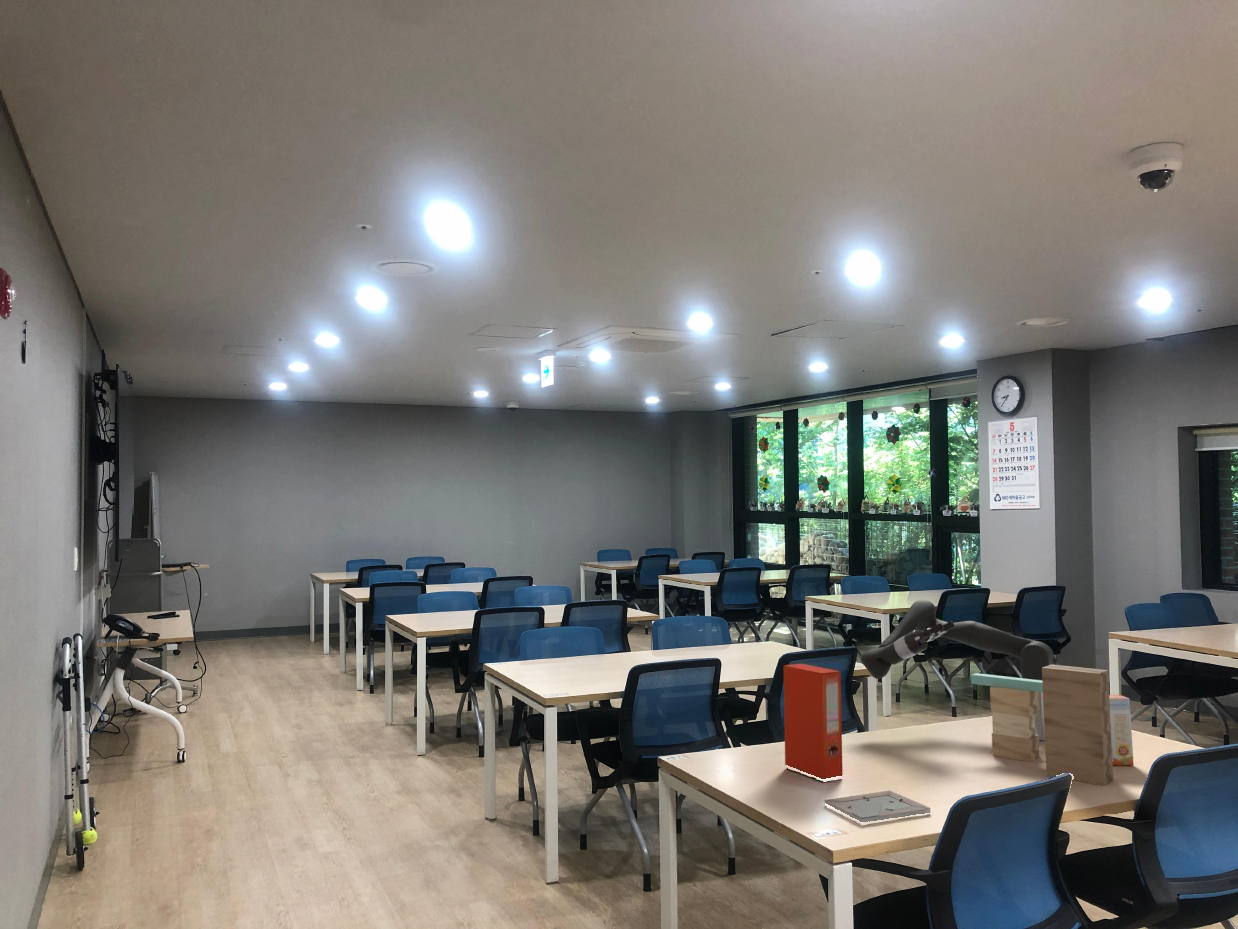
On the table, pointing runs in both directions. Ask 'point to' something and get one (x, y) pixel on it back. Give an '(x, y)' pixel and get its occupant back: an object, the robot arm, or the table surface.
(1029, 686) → the batten
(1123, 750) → the cracker box
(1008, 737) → the block
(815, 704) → the file binder
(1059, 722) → the wooden moulding block
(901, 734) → the table surface
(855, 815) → the picture frame
